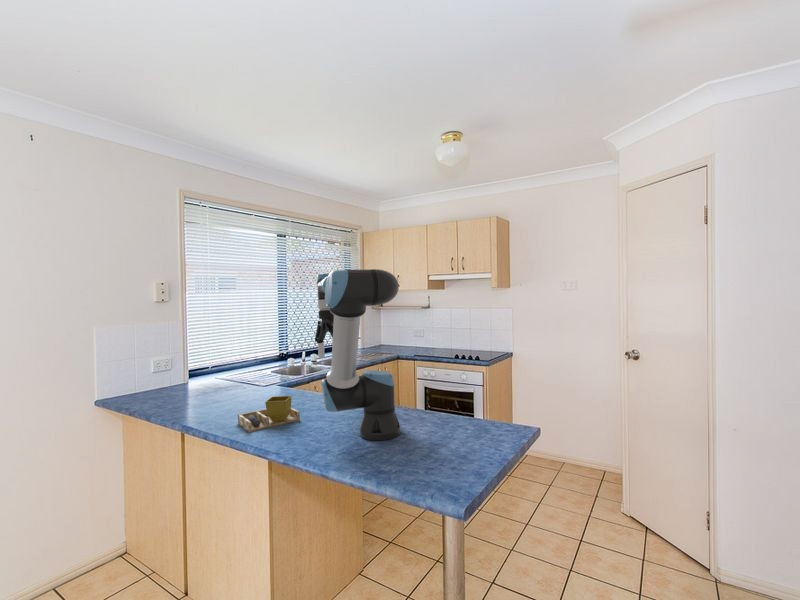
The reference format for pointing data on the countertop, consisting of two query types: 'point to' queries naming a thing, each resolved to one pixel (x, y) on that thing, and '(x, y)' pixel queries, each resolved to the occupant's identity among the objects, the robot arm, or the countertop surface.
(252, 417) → the cord stub
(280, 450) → the countertop surface
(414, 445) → the countertop surface
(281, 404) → the flower pot
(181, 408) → the countertop surface
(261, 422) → the divided wooden tray
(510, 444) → the countertop surface
